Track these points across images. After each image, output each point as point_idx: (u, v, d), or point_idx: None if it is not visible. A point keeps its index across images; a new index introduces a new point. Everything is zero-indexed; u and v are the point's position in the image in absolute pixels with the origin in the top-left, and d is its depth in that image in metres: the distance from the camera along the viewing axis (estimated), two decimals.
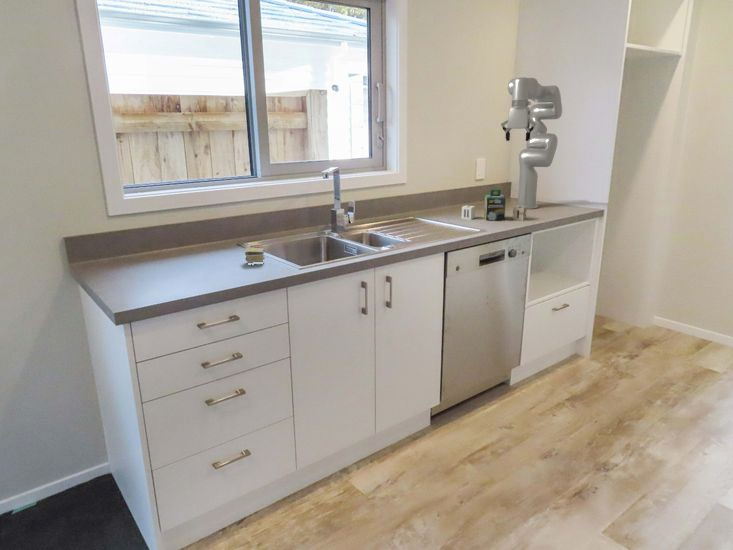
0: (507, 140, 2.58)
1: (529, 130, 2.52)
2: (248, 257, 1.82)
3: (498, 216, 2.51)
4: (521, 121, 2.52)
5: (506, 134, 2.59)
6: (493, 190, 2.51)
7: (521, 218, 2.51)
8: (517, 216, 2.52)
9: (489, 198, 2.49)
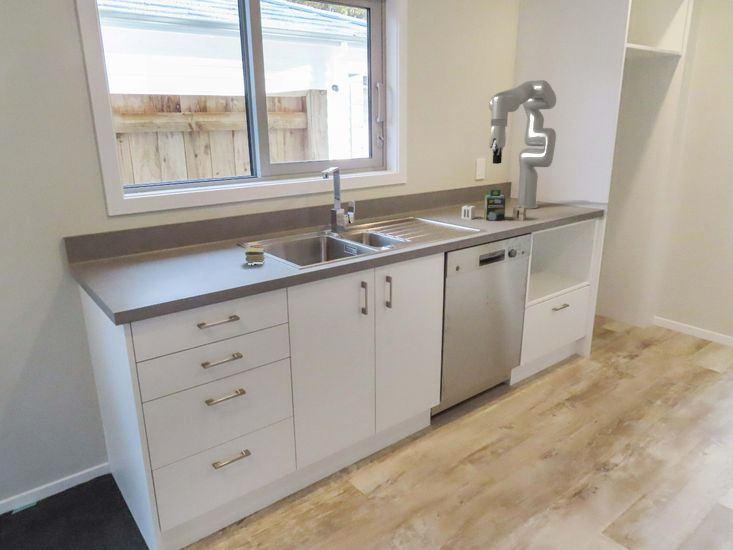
0: None
1: (501, 153, 2.49)
2: (248, 257, 1.82)
3: (498, 216, 2.51)
4: (504, 140, 2.46)
5: (497, 157, 2.46)
6: (493, 190, 2.51)
7: (521, 218, 2.51)
8: (517, 216, 2.52)
9: (489, 198, 2.49)
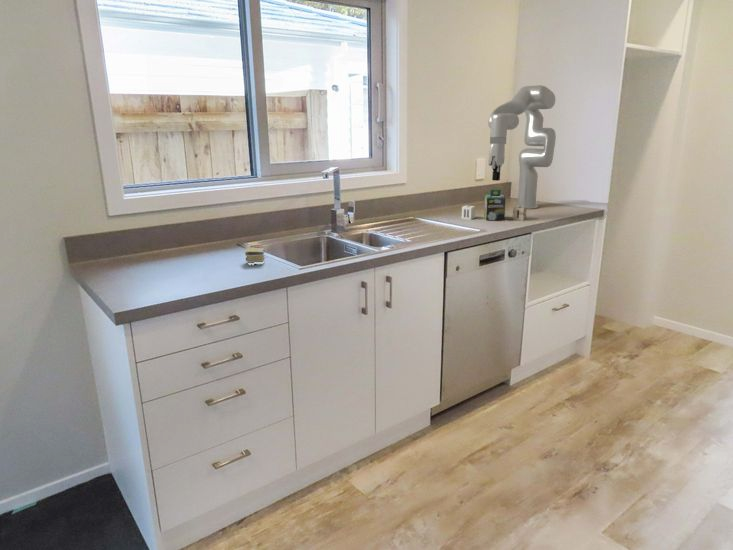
0: None
1: None
2: (248, 257, 1.82)
3: (498, 216, 2.51)
4: (503, 158, 2.48)
5: (497, 174, 2.49)
6: (493, 190, 2.51)
7: (521, 218, 2.51)
8: (517, 216, 2.52)
9: (489, 198, 2.49)
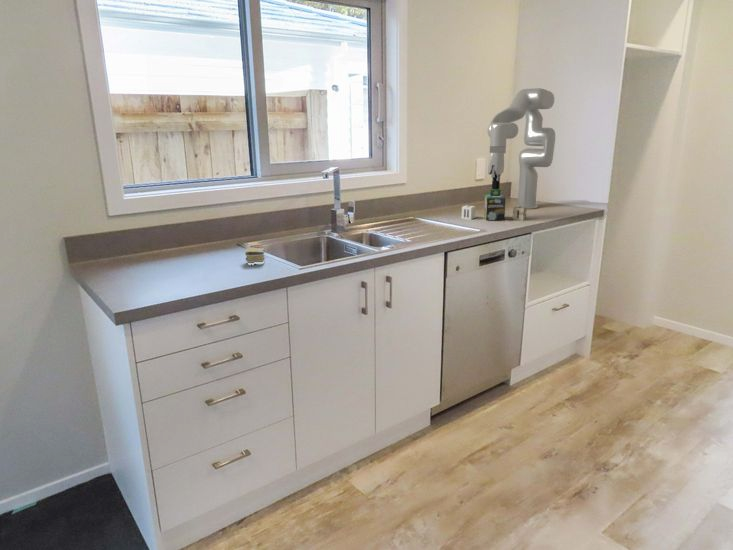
0: (498, 188, 2.51)
1: (499, 179, 2.51)
2: (248, 257, 1.82)
3: (498, 216, 2.51)
4: (502, 166, 2.49)
5: (496, 182, 2.50)
6: (493, 190, 2.51)
7: (521, 218, 2.51)
8: (517, 216, 2.52)
9: (489, 198, 2.49)
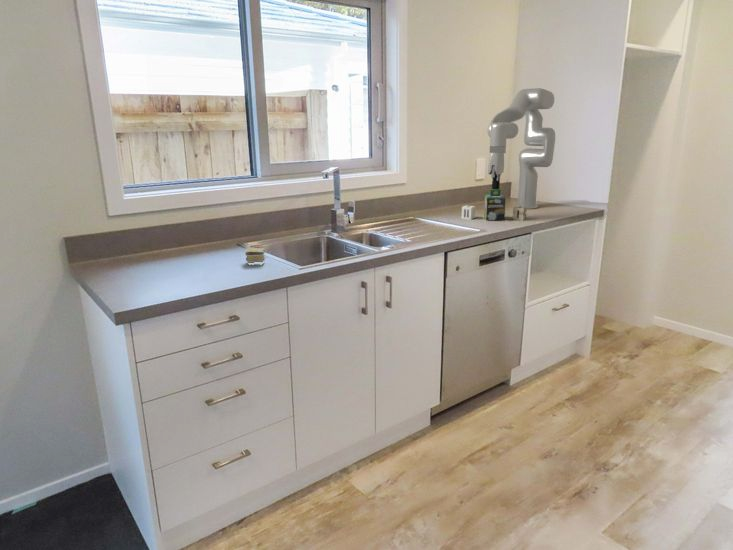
0: (498, 188, 2.51)
1: (499, 179, 2.51)
2: (248, 257, 1.82)
3: (498, 216, 2.51)
4: (502, 166, 2.49)
5: (496, 182, 2.50)
6: (493, 190, 2.51)
7: (521, 218, 2.51)
8: (517, 216, 2.52)
9: (489, 198, 2.49)
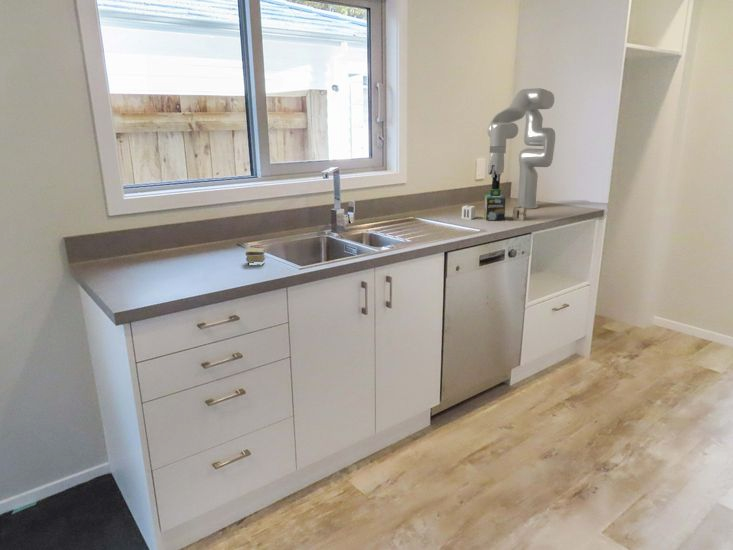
0: (498, 188, 2.51)
1: (499, 179, 2.51)
2: (248, 257, 1.82)
3: (498, 216, 2.51)
4: (502, 166, 2.49)
5: (496, 182, 2.50)
6: (493, 190, 2.51)
7: (521, 218, 2.51)
8: (517, 216, 2.52)
9: (489, 198, 2.49)
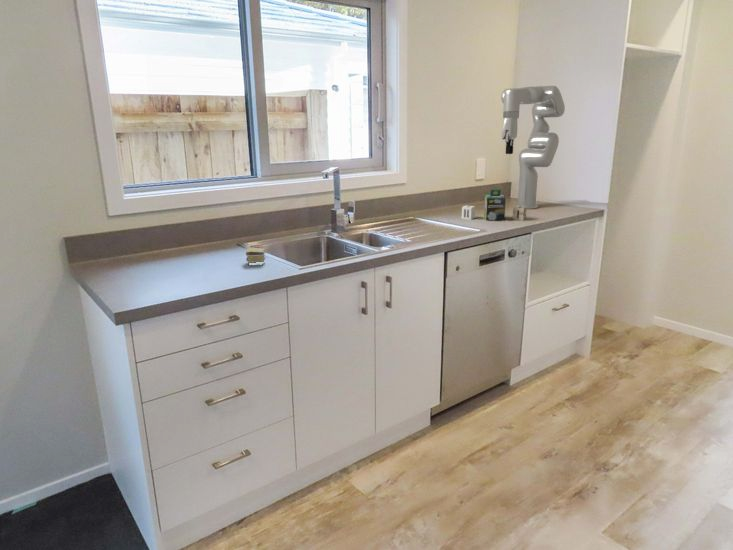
0: (511, 153, 2.58)
1: None
2: (249, 257, 1.82)
3: (498, 216, 2.51)
4: (516, 131, 2.56)
5: (510, 147, 2.56)
6: (493, 190, 2.51)
7: (521, 218, 2.51)
8: (517, 216, 2.52)
9: (489, 198, 2.49)
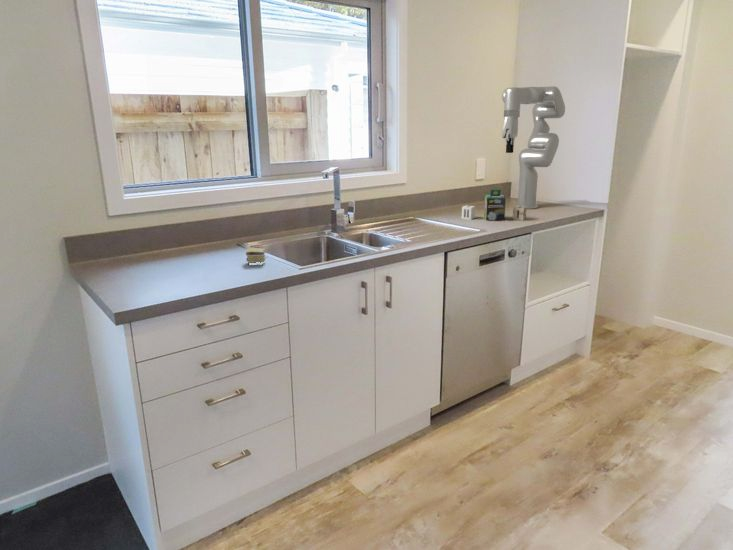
0: (512, 152, 2.58)
1: (513, 143, 2.58)
2: (249, 257, 1.82)
3: (498, 216, 2.51)
4: (516, 130, 2.56)
5: (510, 146, 2.57)
6: (493, 190, 2.51)
7: (521, 218, 2.51)
8: (517, 216, 2.52)
9: (489, 198, 2.49)
